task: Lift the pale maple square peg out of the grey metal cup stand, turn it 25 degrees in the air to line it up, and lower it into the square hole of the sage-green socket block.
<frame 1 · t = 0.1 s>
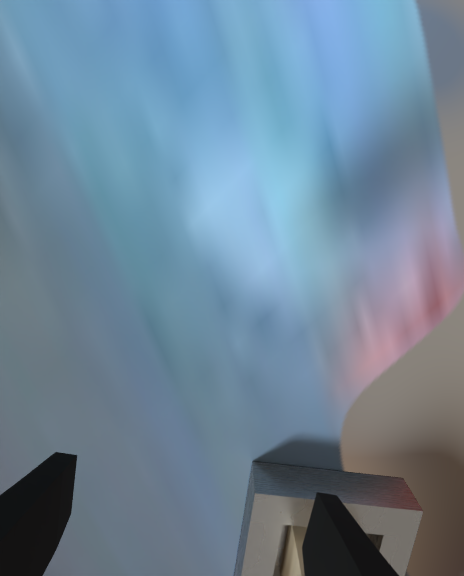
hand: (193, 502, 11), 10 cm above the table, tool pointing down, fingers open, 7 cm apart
stand: (314, 532, 24), on the table
peg: (318, 546, 23), point 1 cm above the table, touching stand
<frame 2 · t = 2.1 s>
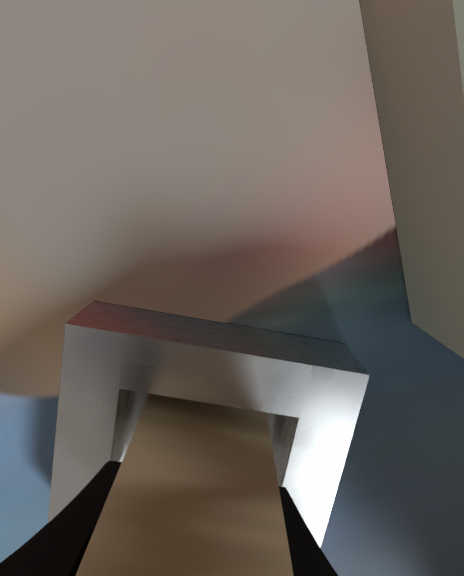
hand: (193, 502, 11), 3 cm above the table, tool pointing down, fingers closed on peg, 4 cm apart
stand: (201, 433, 15), on the table
peg: (199, 450, 14), point 1 cm above the table, touching gripper, stand
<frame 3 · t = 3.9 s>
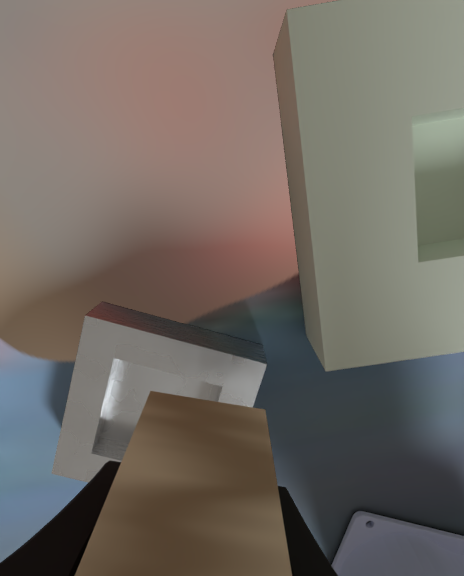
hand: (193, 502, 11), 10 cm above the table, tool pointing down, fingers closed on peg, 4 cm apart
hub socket: (429, 184, 19), on the table
stand: (163, 396, 22), on the table
peg: (198, 450, 14), point 8 cm above the table, touching gripper
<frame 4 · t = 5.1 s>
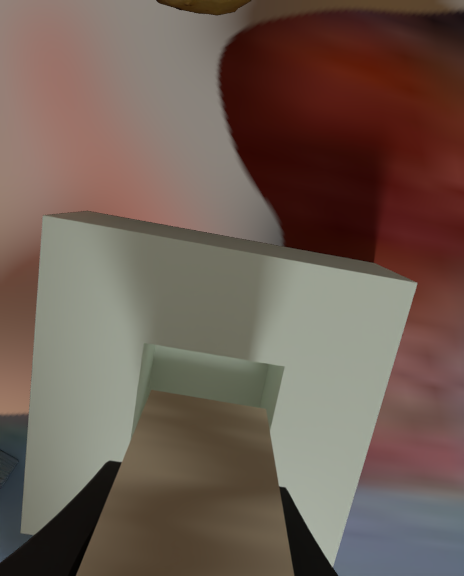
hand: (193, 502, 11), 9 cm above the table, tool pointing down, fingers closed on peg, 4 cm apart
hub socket: (209, 370, 20), on the table
peg: (199, 449, 14), point 7 cm above the table, touching gripper
when the fingers open (5 cm above the table, at t = 6.1 s): peg drops 2 cm, resting on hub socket.
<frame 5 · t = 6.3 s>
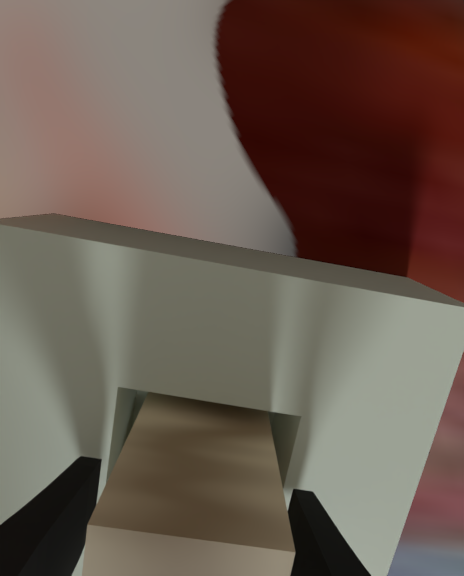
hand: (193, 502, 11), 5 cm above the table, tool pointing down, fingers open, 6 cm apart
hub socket: (204, 405, 17), on the table
peg: (203, 419, 16), point 1 cm above the table, touching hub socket
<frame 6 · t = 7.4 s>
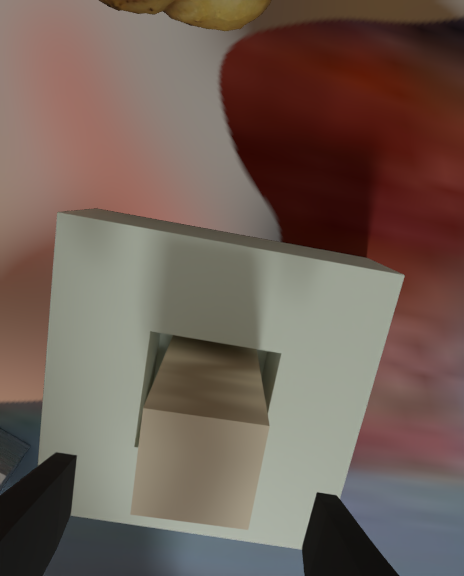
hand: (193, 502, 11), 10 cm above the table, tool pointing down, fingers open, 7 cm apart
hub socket: (210, 359, 21), on the table
peg: (210, 366, 20), point 1 cm above the table, touching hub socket
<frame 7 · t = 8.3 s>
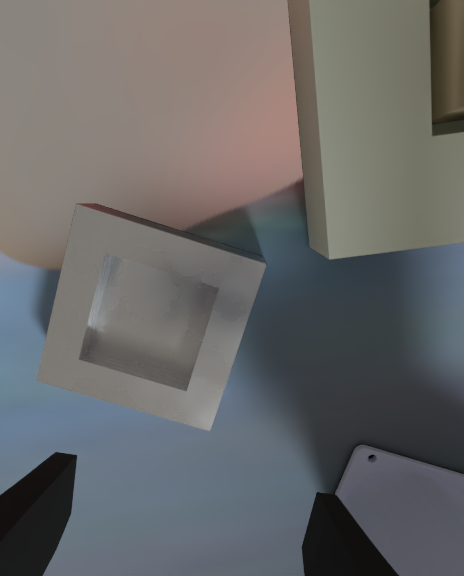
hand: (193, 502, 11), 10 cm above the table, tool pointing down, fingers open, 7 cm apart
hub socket: (444, 81, 18), on the table
stand: (157, 310, 21), on the table
peg: (456, 73, 17), point 1 cm above the table, touching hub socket
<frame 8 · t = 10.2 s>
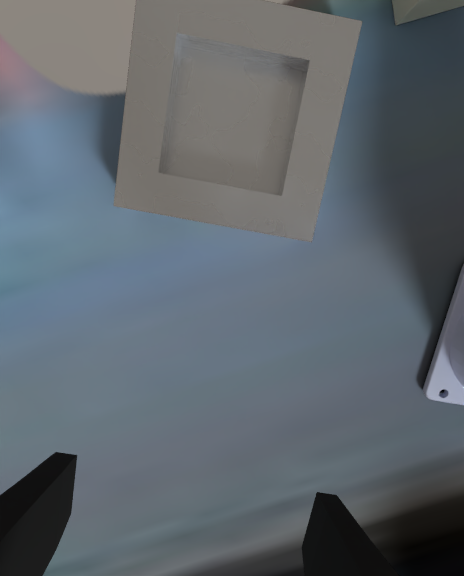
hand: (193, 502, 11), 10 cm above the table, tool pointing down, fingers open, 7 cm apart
stand: (231, 128, 19), on the table
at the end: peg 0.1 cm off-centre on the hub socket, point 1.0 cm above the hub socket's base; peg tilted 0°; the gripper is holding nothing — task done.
